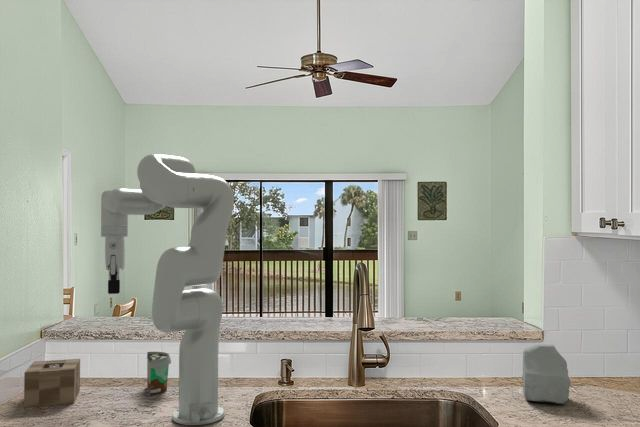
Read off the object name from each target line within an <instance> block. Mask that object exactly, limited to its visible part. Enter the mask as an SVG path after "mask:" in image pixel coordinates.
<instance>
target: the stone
mask: <svg viewBox="0 0 640 427" xmlns="http://www.w3.org/2000/svg"><path fill="white" fill-rule="evenodd" d="M571 385H572V381H571V379H570V376H569V369H568V364H567V360H566V359H565V358H564V357H563V356H562V355H561V353H559V351H558V350H557V348H556V347H555V344H551V343H548V344H546V343H536V344H534V345H531V346H528V347H526V348H524V349H523V350H522V390H523V395H524V398H525V401H529V402H530V401H531V402H539V403H547V404H549V403H550V404H551V403H552V404H559V405H560V404H561V405H564V404H566V402H567V401H568V400H569V396H570V388H571Z"/></svg>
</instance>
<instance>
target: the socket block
mask: <svg viewBox="0 0 640 427" xmlns="http://www.w3.org/2000/svg"><path fill="white" fill-rule="evenodd" d="M55 364H57V365H59V367H53V368H49V365H53V366H55ZM23 375H24V376H23V378H24V379H23V381H24V383H23V384H24V386H23V388H24V390H23V394H24V395H23V408H30V407H32V408H33V407H34V408H35V407H42V406H55V405H68V404H74V403H75V402H76V400H77V398H78V395H79V394H80V390H81V358H71V359H70V358H69V359H55V360H54V359H53V360H38V361H33V362H32V363H31V364H30V366H28V367H27V369H26V370H25V371H24V374H23Z"/></svg>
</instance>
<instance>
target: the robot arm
mask: <svg viewBox="0 0 640 427" xmlns="http://www.w3.org/2000/svg"><path fill="white" fill-rule="evenodd" d="M136 171H137V172H136V173H137V174H136V175H137V179H138V182H139V187H140V189H138V188H115V189H112V190H110V189H109V190H104V191H102V193H101V195H100V196H101V197H100V202H101V203H100V206H101V207H100V237H102V238H104V244H105V245H104V259H105V269H106V270H107V271H108V280H107V294H108V295H115V294H117V295H119V294H120V293H121V292H120V290H121V289H120V288H121V279H120V270H121V271H123V270H124V269H125V237H129V235H128V231H129V230H128V228H129V227H128V225H129V222H128V221H129V216H130V215H131V216H132V215H133V216H134V215H135V216H142V215H143V216H148V215H153V214H155V213H157V212H159V211H161V210H163V209H164V208H165V207H169V208H173V209H174V208H175V209H178V208H179V209H202V210H203V211H202V212H200V214H199V215H198V217H197V218H196V219H195V221H194V223H193V225H192V227H191V231H190V239H189V244H188V245H187V246H175V247H171V248H170V247H169V248H168V249H167V250H165V251H164V252H163V253H162V254H161V255H160V257H159V259H158V262H157V265H156V270H155V271H156V272H155V279H154V288H153V297H152V304H151V318H152V322H153V325H154V327H155V328H156V329H157V330H158V331H160V332H162V333H176V332H181V331H184V332H183V334H182V337H181V339H180V342H179V350H178V352H179V354H178V355H179V356H178V408H177V409H175V410H174V411H173V412H172V414H171V418H172V421H174V422H175V423H177V424H179V425H184V426H202V425H203V426H204V425H209V424H214V423H216V422H218V421H220V420H222V419H223V418H224V416H225V409H224V408H222V407H221V406H220V405H219V347H220V346H219V344H220V343H219V340H220V328H221V323H222V318H223V310H224V304H223V299H222V297H221V296H220V294H219V293H218V292H217V291H216V290H214V289H211V288H206V287H205V288H204V287H203V288H192V289H191V288H190V289H185V288H187V287H196V286H197V287H198V286H206V285H210V284H214V283H216V282H217V281H218V280H219V279H220V277H221V274H222V271H223V270H222V269H223V264H224V256H225V249H226V242H227V233H228V228H229V225H230V222H231V219H232V215H233V211H234V207H235V199H234V197H235V196H234V192H233V189H232V187H231V186H230V184H229V182H227V181H226V180H225V179H224V178H221V177H219V176H215V175H212V174H205V173H204V174H203V173H196V168H195V166H194V164H193V163H192V162H191V161H190V160H189V159H187V158H186V157H183V156H182V157H181V156H177V155H169V154H158V153H152V154H147V155H145V156H144V157H143V158H142V159H141V160H140V161H139V162H138V164H137V169H136Z"/></svg>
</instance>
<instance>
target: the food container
mask: <svg viewBox="0 0 640 427" xmlns="http://www.w3.org/2000/svg"><path fill="white" fill-rule="evenodd" d="M146 352H147V355H146V359H147V362H146V363H147V364H146V365H147V366H146V367H147V368H146V370H147V371H146V372H147V377H146V378H147V380H146V383H147V385H146V386H147V391H148V390H149V391H148V394H149V396H150V397H153V395H154V396H159V395H161V394H164V393H165V392H167V390H168V379H169V378H168V377H169V365H170V364H171V363H172V359H171V355H170V354H169V353H167V352H165V351H164V352H162V351H146ZM158 394H159V395H158Z"/></svg>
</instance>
